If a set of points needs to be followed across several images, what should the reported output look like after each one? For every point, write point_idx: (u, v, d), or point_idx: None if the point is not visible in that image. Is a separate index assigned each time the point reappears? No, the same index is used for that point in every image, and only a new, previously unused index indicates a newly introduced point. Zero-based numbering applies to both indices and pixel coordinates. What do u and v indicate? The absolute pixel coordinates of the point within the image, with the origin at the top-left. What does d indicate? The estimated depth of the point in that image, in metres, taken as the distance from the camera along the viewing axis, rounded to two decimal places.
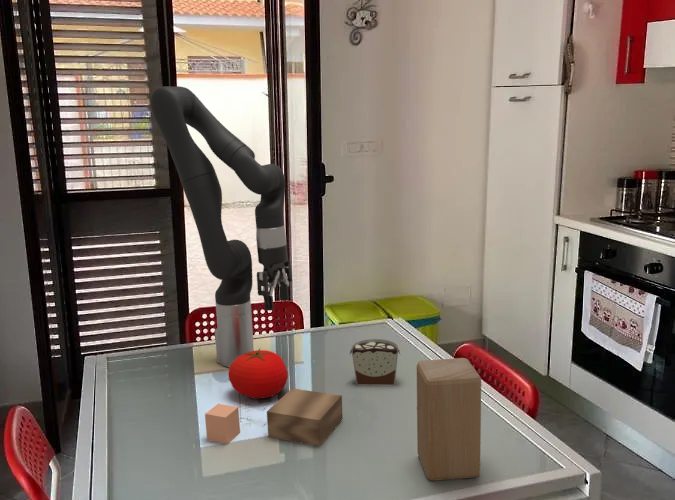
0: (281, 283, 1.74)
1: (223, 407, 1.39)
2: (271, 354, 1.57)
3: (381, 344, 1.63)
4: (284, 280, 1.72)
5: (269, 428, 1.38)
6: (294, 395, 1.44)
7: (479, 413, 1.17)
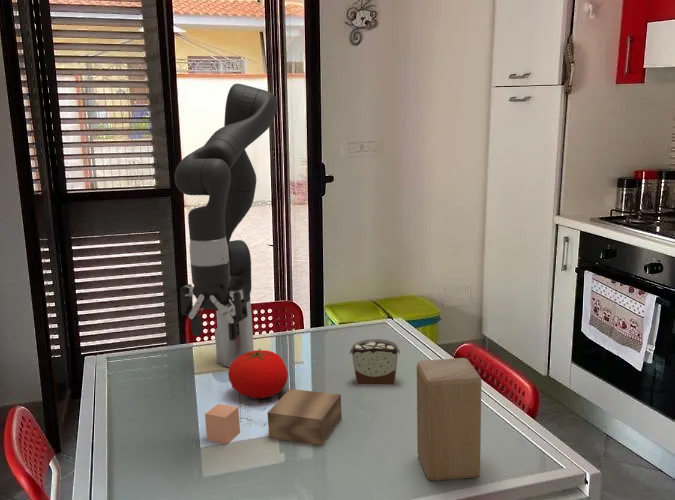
0: None
1: (223, 407, 1.39)
2: (271, 354, 1.57)
3: (380, 344, 1.63)
4: None
5: (270, 429, 1.37)
6: (293, 395, 1.44)
7: (479, 413, 1.17)
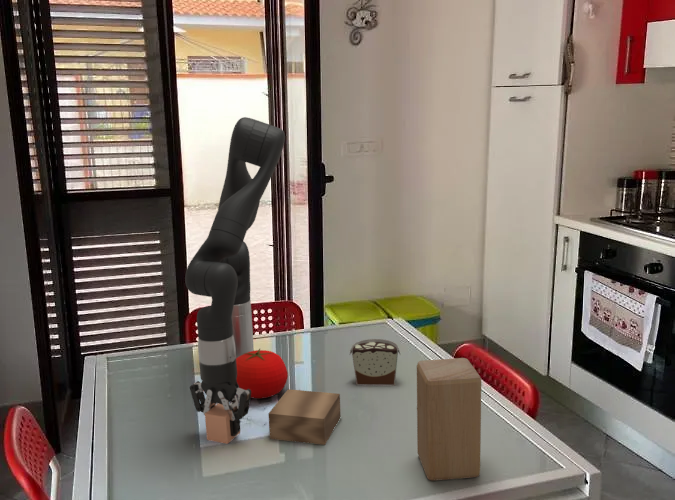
0: (209, 410, 1.38)
1: (223, 406, 1.39)
2: (271, 354, 1.57)
3: (380, 344, 1.63)
4: None
5: (271, 430, 1.37)
6: (292, 396, 1.44)
7: (479, 413, 1.17)
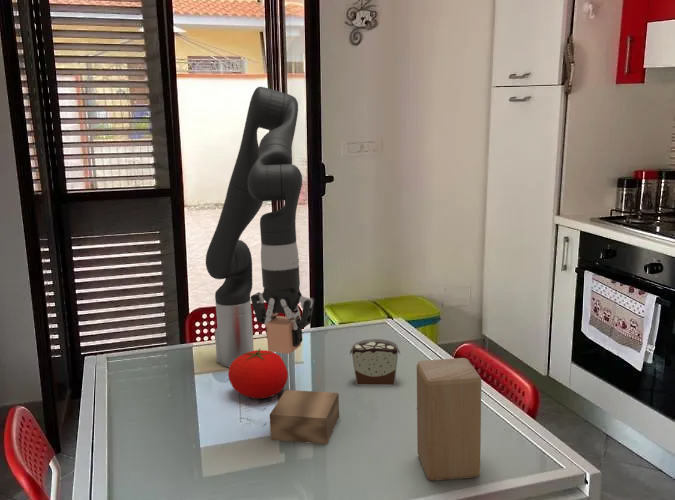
0: None
1: (284, 318, 1.37)
2: (271, 354, 1.57)
3: (380, 344, 1.63)
4: None
5: (272, 431, 1.36)
6: (291, 396, 1.44)
7: (479, 413, 1.17)
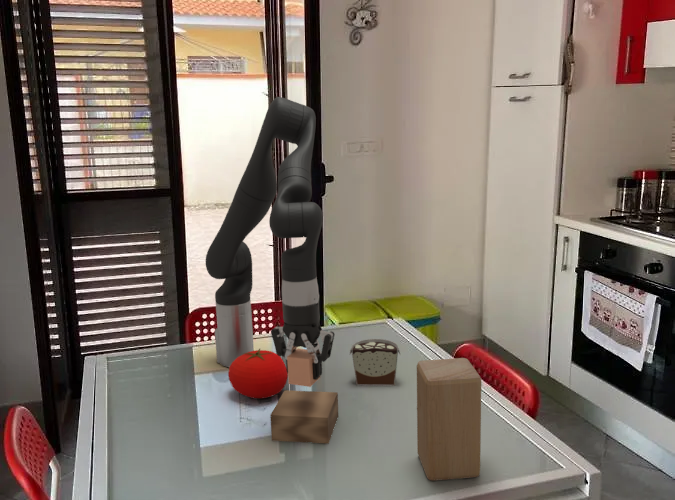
0: (290, 354, 1.38)
1: (304, 351, 1.39)
2: (271, 354, 1.57)
3: (381, 344, 1.63)
4: None
5: (273, 431, 1.36)
6: (290, 397, 1.43)
7: (479, 413, 1.17)
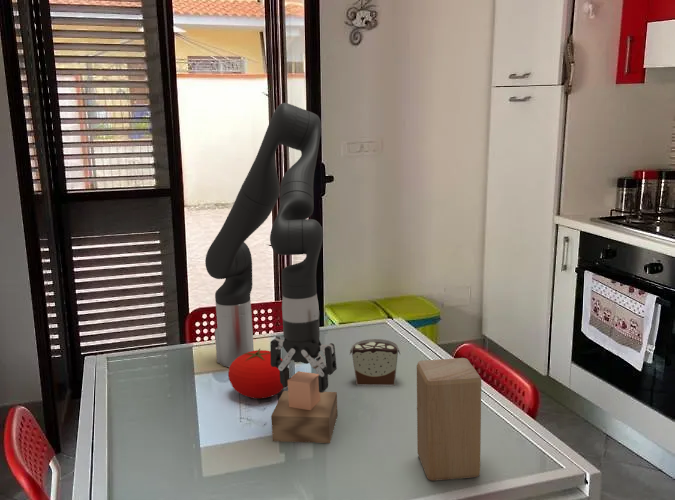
0: None
1: (304, 374, 1.40)
2: None
3: (380, 344, 1.63)
4: None
5: (274, 432, 1.36)
6: None
7: (479, 413, 1.17)
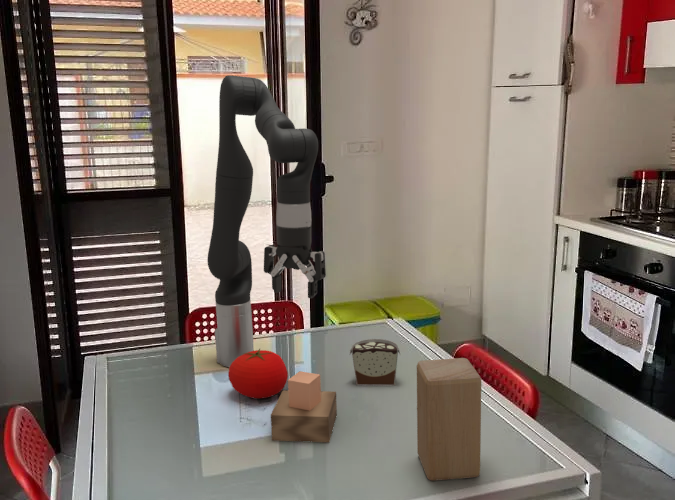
0: None
1: (305, 374, 1.40)
2: (271, 354, 1.57)
3: (381, 344, 1.63)
4: None
5: (273, 432, 1.36)
6: None
7: (479, 413, 1.17)
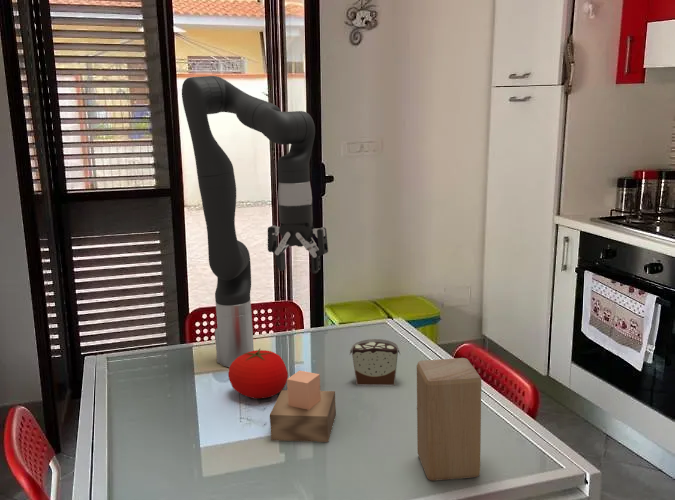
0: None
1: (305, 373, 1.40)
2: (271, 354, 1.57)
3: (381, 344, 1.63)
4: (288, 244, 1.53)
5: (272, 431, 1.36)
6: None
7: (479, 413, 1.17)
